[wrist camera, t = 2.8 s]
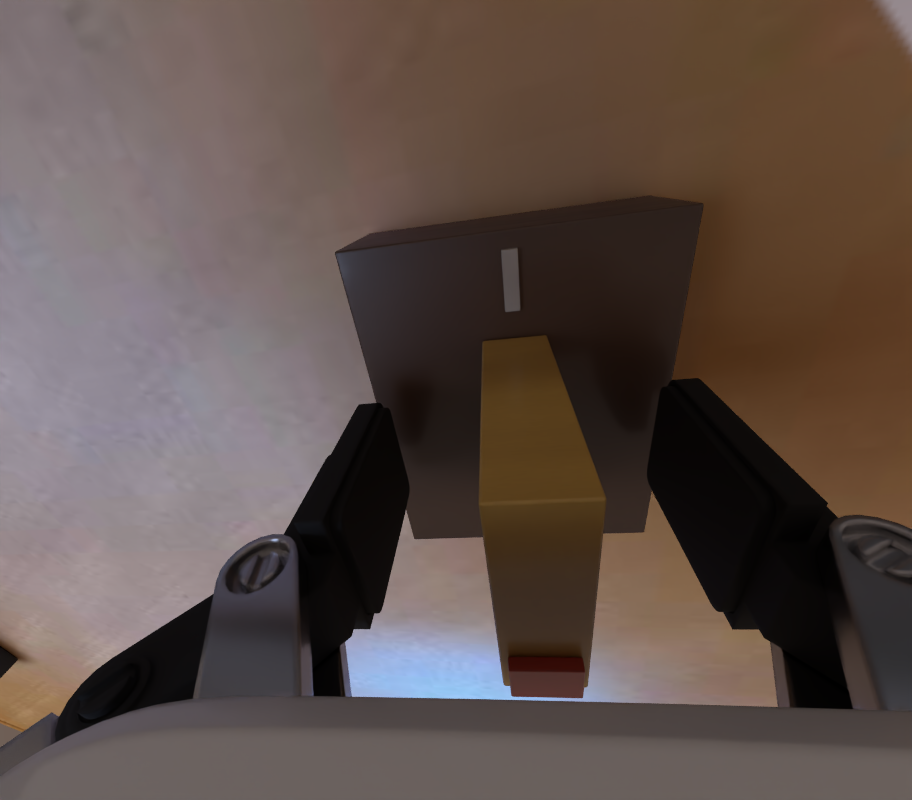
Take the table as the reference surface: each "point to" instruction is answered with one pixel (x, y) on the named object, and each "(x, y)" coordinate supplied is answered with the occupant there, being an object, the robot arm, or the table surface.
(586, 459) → the thumbturn
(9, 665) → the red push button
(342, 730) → the robot arm
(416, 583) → the table surface
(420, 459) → the lock plate
